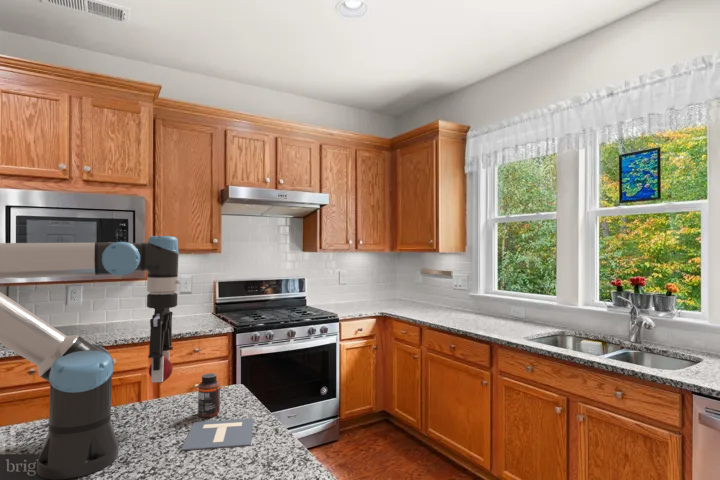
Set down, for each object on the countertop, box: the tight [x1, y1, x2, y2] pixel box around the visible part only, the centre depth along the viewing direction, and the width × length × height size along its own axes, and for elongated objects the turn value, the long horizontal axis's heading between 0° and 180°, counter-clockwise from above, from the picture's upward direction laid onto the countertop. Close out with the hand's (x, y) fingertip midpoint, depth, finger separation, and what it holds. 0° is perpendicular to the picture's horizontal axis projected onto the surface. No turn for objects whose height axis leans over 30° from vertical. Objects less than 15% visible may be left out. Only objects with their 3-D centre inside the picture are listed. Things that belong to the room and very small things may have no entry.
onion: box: [148, 356, 174, 384], centre depth 115 cm, size 6×6×8 cm
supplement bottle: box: [197, 372, 221, 418], centre depth 123 cm, size 6×6×11 cm
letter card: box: [181, 418, 255, 451], centre depth 110 cm, size 16×16×1 cm
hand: (160, 377), depth 115 cm, fingers closed on onion, 6 cm apart
